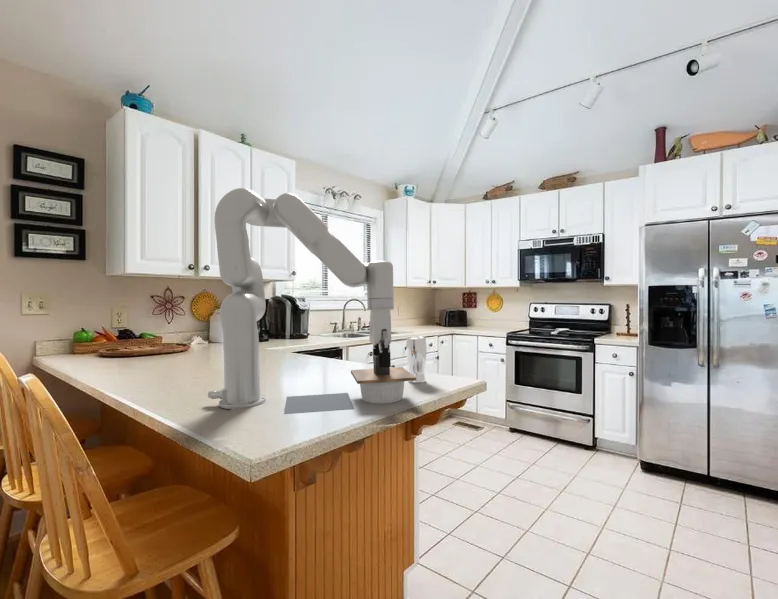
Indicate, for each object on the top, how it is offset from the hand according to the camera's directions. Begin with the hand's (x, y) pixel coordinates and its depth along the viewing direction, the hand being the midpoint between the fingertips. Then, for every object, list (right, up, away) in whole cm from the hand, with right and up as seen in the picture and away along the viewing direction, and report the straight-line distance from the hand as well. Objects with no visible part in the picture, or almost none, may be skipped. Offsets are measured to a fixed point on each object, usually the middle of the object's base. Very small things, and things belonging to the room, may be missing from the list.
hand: (381, 364), depth 121 cm
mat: (-18, -11, -3) cm, 21 cm away
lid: (0, -4, 0) cm, 4 cm away
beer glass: (+12, -10, +24) cm, 28 cm away
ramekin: (0, -11, 0) cm, 11 cm away
